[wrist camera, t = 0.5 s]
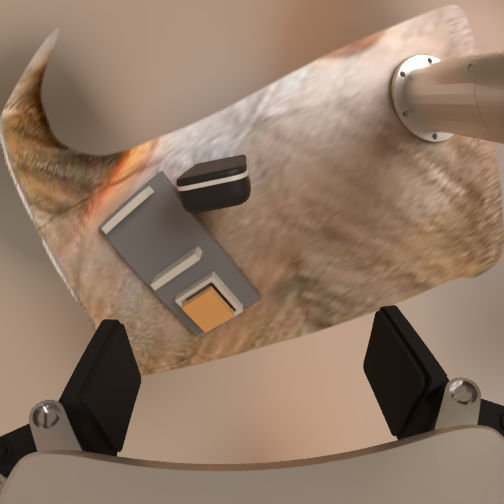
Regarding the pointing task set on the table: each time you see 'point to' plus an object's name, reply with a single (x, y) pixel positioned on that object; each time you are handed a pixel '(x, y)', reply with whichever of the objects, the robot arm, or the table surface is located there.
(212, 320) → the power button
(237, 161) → the battery charger
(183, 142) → the table surface
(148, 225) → the charging dock
